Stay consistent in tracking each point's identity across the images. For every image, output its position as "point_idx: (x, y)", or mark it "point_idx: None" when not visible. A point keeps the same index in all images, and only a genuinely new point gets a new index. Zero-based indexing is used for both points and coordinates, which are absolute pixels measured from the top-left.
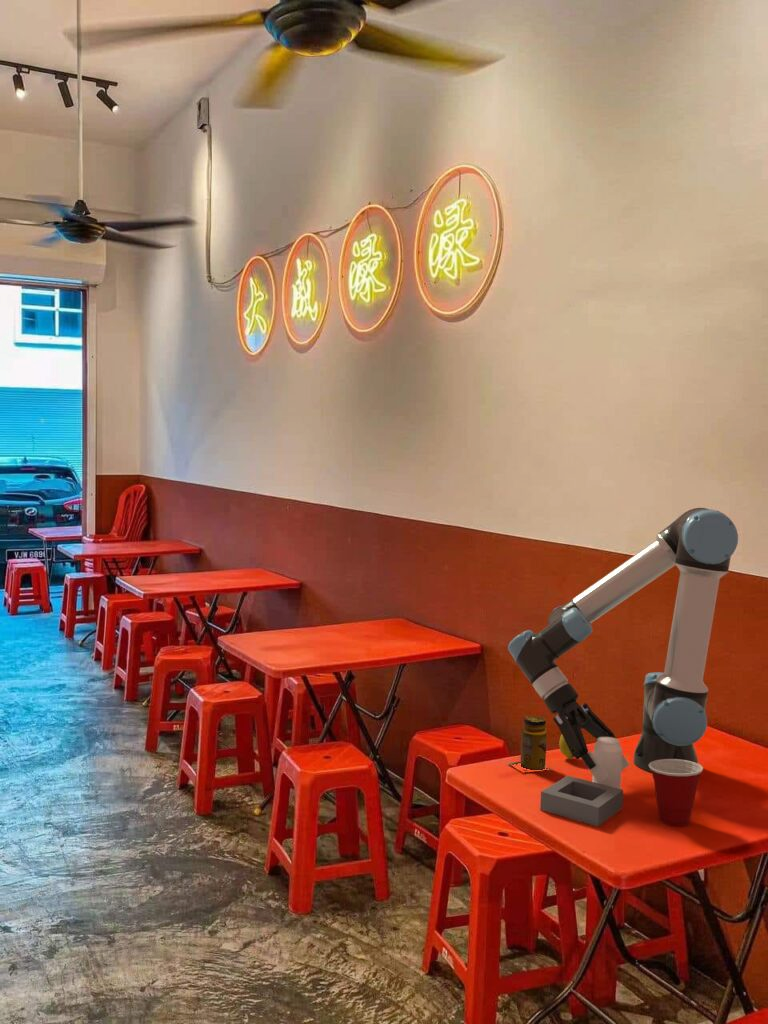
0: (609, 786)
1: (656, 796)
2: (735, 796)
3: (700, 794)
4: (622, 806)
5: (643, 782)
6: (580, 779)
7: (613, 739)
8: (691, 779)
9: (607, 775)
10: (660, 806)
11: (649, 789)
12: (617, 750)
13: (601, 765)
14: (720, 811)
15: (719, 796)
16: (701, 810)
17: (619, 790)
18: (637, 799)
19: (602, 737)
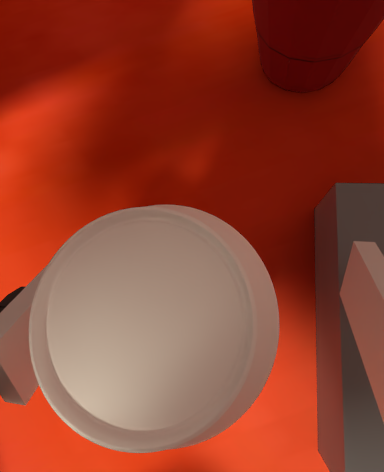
0: (339, 246)
1: (358, 34)
2: (16, 13)
3: (47, 76)
4: (315, 207)
5: (33, 234)
6: (355, 407)
7: (62, 291)
8: None
9: (367, 247)
10: (370, 35)
11: (86, 197)
12: (207, 216)
13: (381, 287)
14: (144, 2)
15: (37, 38)
16: (168, 35)
17: (355, 193)
18: (199, 197)
19: (70, 412)
